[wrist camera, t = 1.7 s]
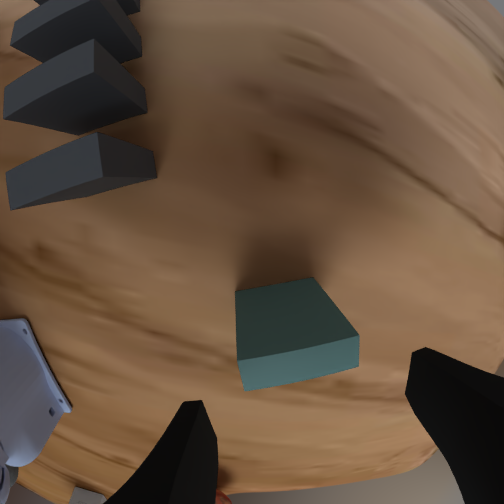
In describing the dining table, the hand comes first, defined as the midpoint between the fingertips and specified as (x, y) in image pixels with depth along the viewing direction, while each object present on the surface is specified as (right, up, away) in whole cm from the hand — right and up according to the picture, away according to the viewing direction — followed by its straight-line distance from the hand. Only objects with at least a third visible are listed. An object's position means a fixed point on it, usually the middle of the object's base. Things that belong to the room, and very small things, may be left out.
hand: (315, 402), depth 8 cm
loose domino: (-1, +2, +9) cm, 10 cm away
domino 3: (-10, +9, +7) cm, 15 cm away
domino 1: (-11, +17, +5) cm, 21 cm away
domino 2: (-11, +13, +6) cm, 18 cm away
